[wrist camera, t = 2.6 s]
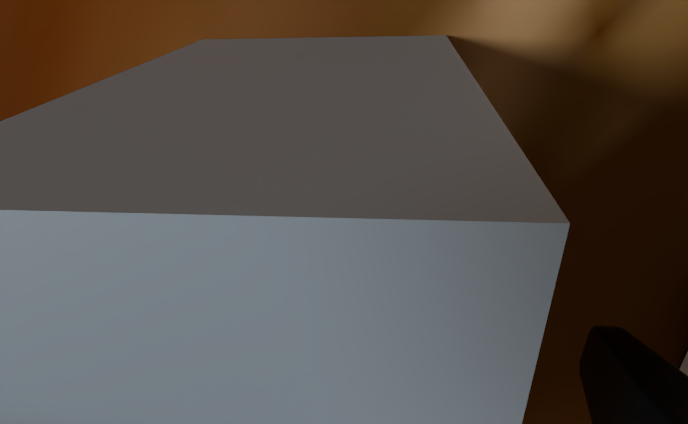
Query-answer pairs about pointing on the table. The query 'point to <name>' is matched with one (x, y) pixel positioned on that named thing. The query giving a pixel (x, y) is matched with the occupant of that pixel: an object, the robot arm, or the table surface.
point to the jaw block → (273, 242)
